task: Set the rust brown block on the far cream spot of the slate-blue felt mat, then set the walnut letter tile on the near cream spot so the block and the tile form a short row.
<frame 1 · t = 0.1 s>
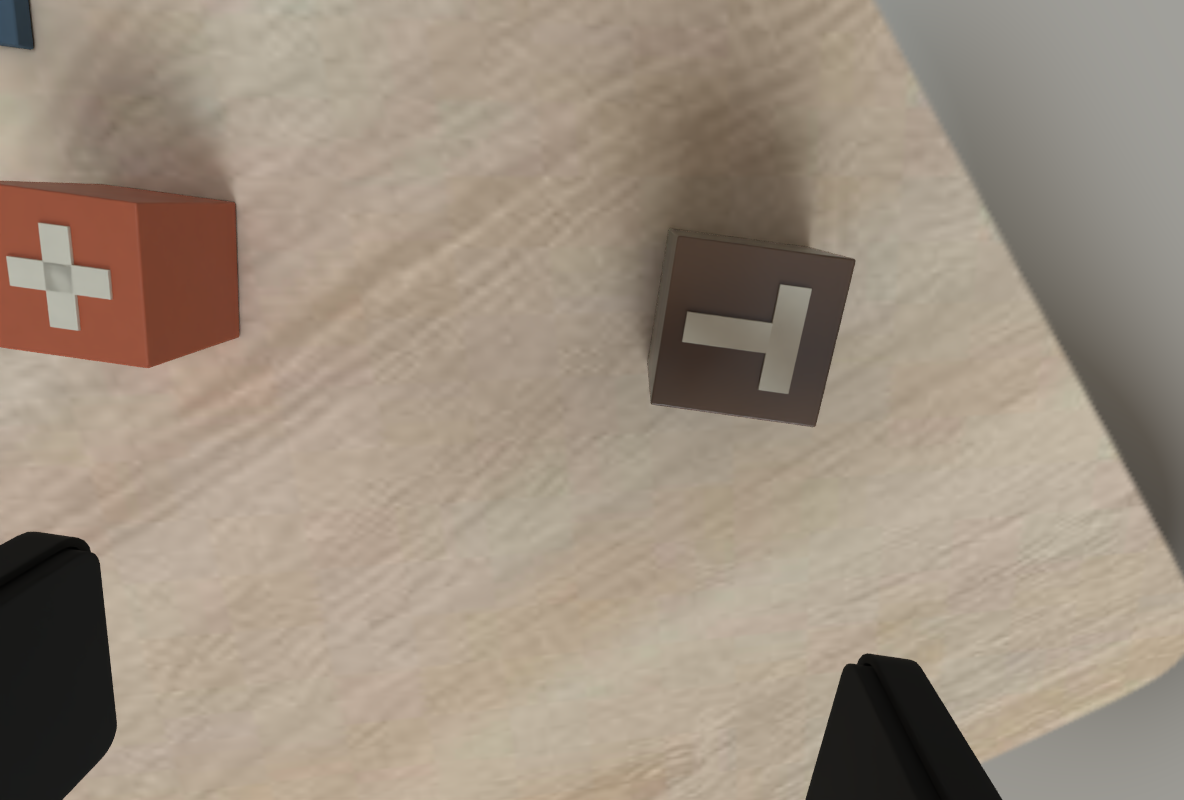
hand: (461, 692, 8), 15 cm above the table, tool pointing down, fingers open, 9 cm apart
rust brown block: (172, 262, 22), on the table
walnut tile: (726, 308, 21), on the table
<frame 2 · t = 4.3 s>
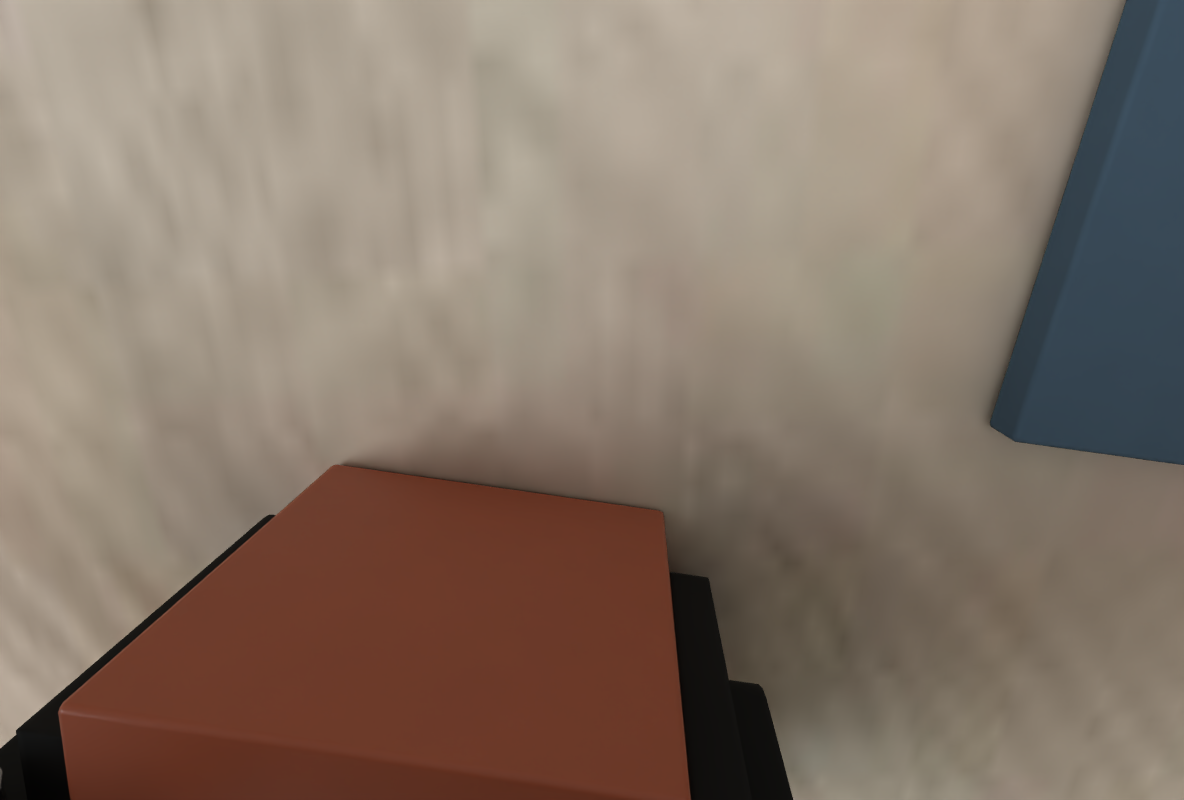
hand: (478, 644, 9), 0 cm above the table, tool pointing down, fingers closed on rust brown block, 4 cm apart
rust brown block: (484, 627, 10), on the table, touching gripper
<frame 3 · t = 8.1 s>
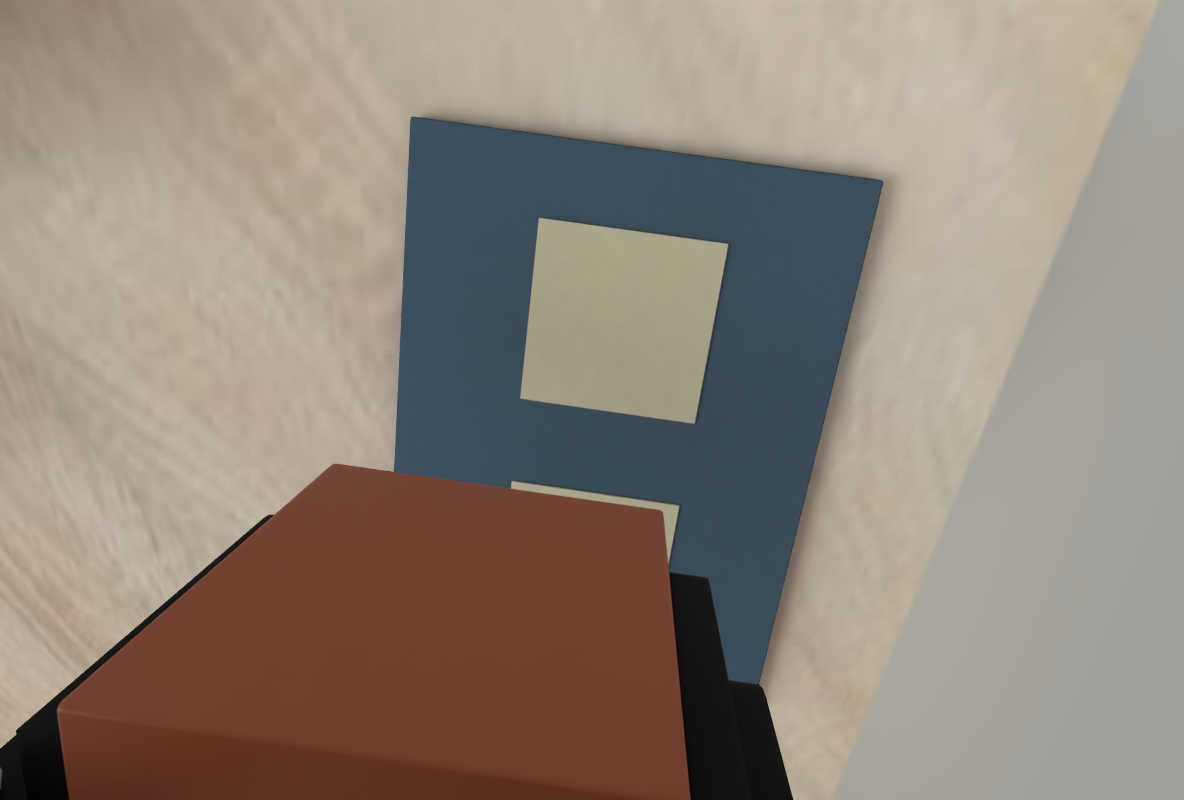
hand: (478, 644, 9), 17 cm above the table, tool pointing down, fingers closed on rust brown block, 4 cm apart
rust brown block: (484, 626, 10), point 16 cm above the table, touching gripper
layout mat: (601, 446, 26), on the table
when the fingers open (1 cm above the table, at t = 11.9 s): rust brown block stays where it is, resting on layout mat.
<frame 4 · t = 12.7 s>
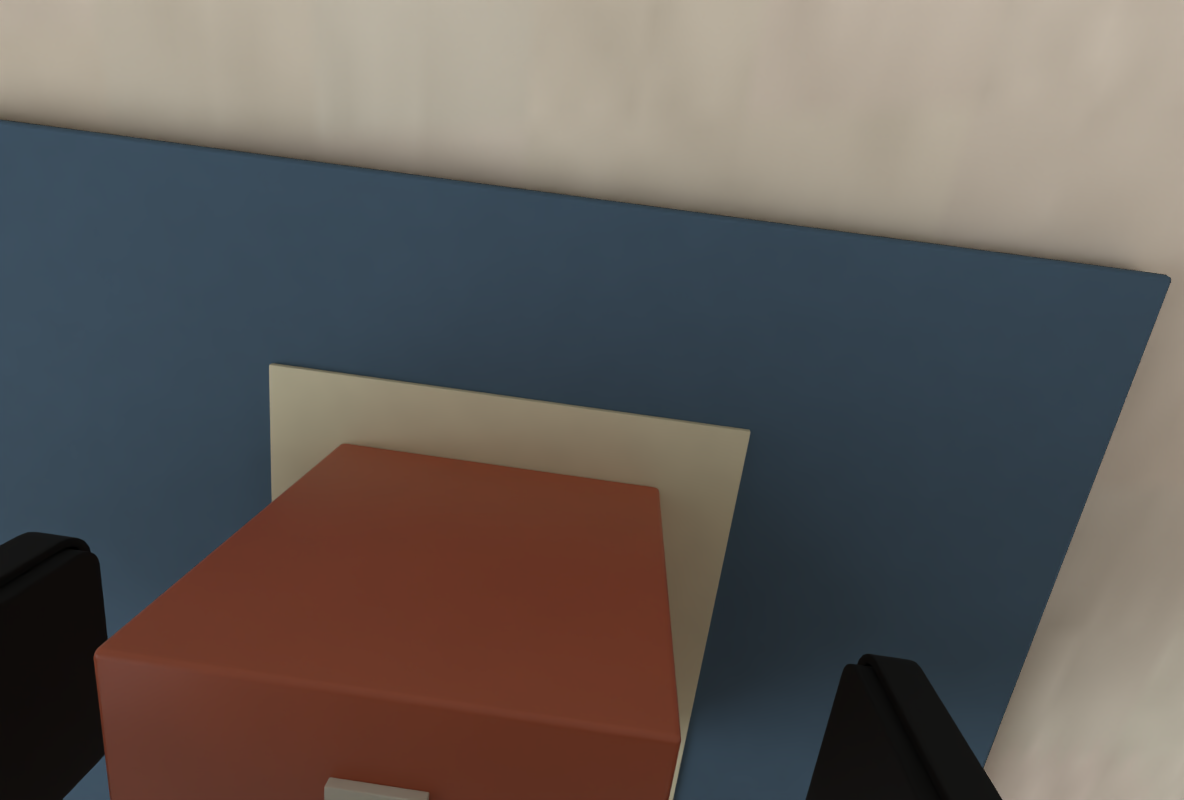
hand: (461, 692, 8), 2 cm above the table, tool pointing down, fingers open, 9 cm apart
rust brown block: (487, 601, 10), point 1 cm above the table, touching layout mat
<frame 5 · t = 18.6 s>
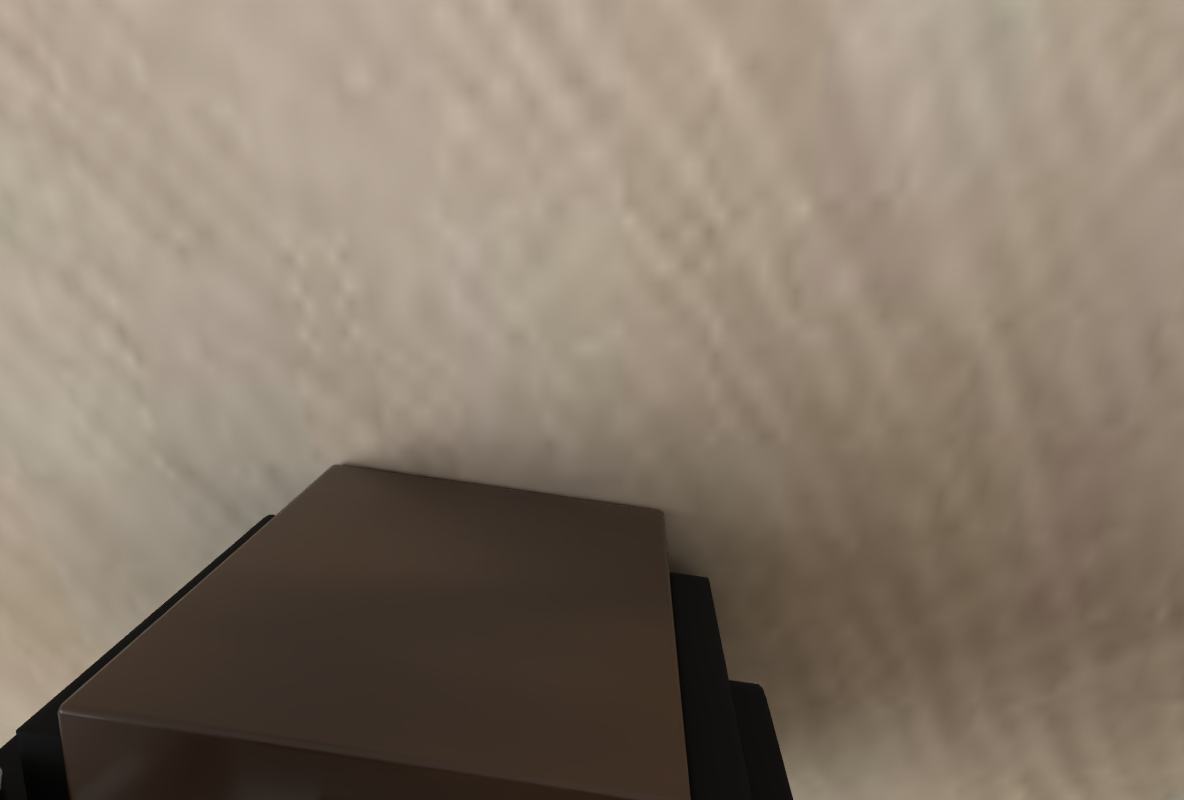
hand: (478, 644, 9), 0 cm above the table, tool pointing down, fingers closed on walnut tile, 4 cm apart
walnut tile: (484, 627, 10), on the table, touching gripper
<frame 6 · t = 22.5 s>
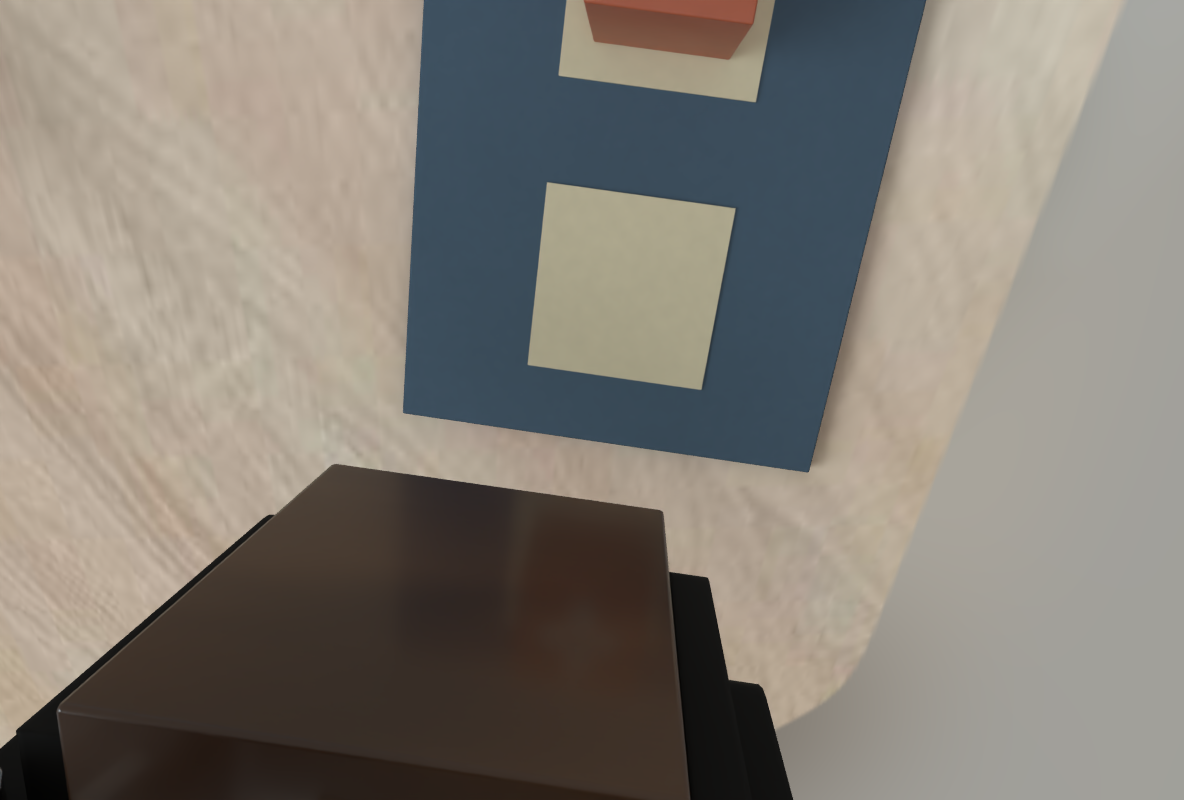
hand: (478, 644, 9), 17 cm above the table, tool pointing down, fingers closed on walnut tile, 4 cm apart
walnut tile: (484, 627, 10), point 17 cm above the table, touching gripper
layout mat: (648, 144, 23), on the table
when the fingers open (1 cm above the table, at t = 26.6 s): walnut tile stays where it is, resting on layout mat.
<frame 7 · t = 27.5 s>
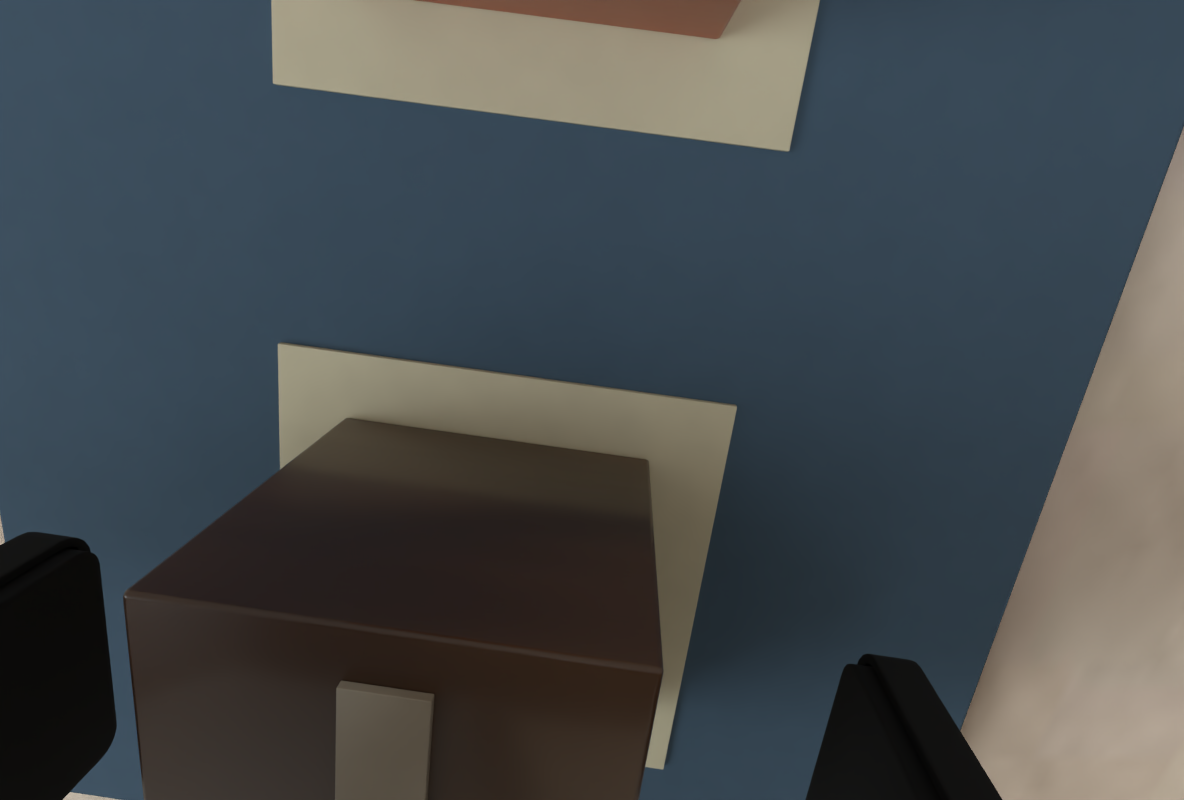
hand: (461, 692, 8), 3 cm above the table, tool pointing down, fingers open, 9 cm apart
walnut tile: (485, 570, 10), point 1 cm above the table, touching layout mat
layout mat: (525, 249, 10), on the table
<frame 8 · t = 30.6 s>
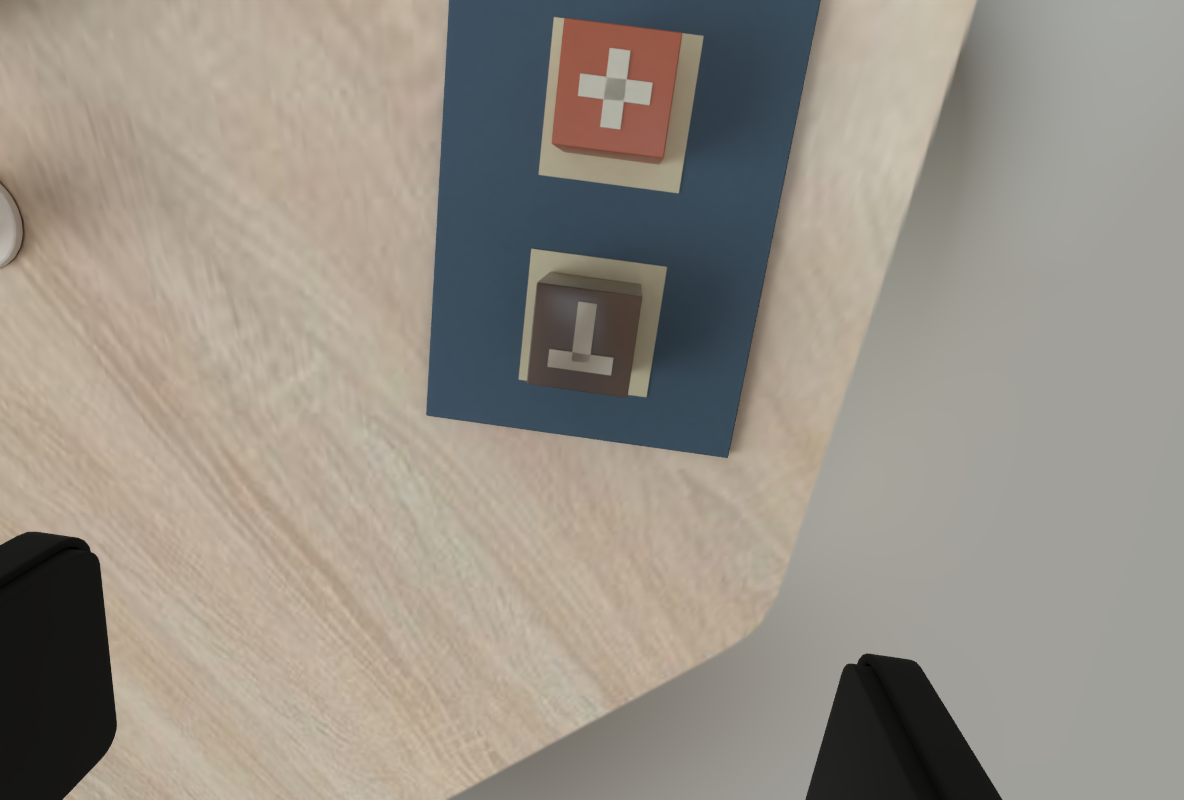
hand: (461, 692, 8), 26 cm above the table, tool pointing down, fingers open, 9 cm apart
rust brown block: (617, 105, 30), point 1 cm above the table, touching layout mat
walnut tile: (589, 323, 33), point 1 cm above the table, touching layout mat
layout mat: (604, 221, 32), on the table
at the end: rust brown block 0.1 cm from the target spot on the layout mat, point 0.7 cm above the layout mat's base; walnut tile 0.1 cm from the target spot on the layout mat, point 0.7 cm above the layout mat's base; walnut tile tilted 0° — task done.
